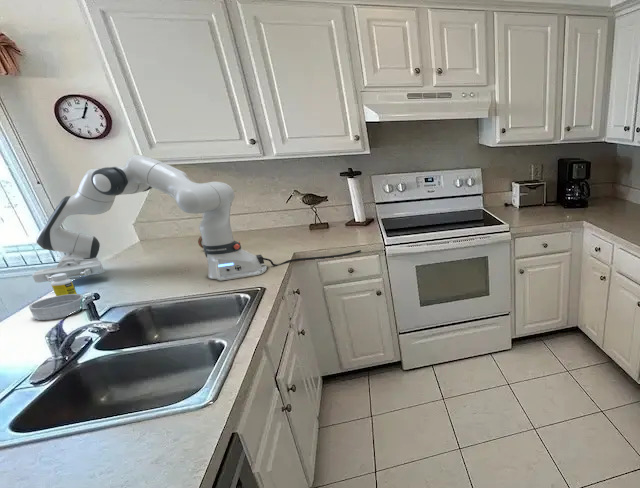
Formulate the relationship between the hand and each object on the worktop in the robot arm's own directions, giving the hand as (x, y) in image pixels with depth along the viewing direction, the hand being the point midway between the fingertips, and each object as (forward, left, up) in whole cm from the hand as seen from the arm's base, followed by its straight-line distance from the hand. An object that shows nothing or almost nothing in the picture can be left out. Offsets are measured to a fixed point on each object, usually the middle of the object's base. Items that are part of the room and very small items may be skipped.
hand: (67, 277), depth 162 cm
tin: (-39, -51, -6) cm, 64 cm away
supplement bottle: (-4, +11, -6) cm, 13 cm away
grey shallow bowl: (-9, +26, -6) cm, 28 cm away
